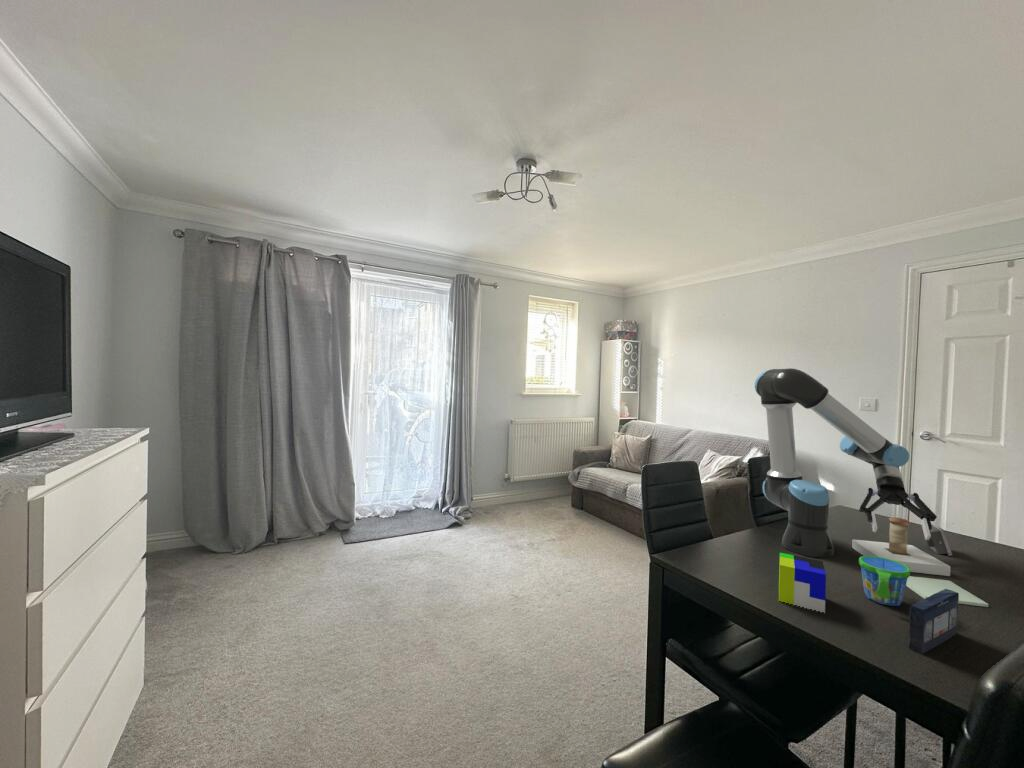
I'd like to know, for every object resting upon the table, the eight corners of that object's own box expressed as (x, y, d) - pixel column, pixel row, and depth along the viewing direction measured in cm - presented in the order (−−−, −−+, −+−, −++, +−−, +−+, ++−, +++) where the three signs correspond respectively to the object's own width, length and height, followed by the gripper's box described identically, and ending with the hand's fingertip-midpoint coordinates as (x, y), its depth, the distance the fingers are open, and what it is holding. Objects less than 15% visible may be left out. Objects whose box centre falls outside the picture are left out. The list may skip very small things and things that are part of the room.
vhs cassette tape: (922, 655, 93) (923, 610, 93) (905, 647, 95) (906, 603, 95) (960, 635, 101) (961, 593, 100) (943, 628, 103) (944, 588, 103)
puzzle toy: (824, 613, 109) (826, 574, 109) (778, 601, 114) (779, 564, 114) (821, 597, 117) (822, 561, 117) (778, 587, 123) (779, 552, 123)
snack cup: (906, 618, 107) (907, 578, 107) (853, 602, 115) (854, 564, 115) (911, 598, 118) (912, 561, 118) (862, 584, 125) (863, 550, 125)
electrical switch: (953, 557, 148) (950, 530, 148) (932, 555, 150) (930, 528, 150) (941, 548, 156) (939, 522, 156) (922, 546, 158) (920, 521, 159)
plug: (893, 562, 141) (894, 520, 141) (884, 557, 146) (885, 516, 146) (910, 564, 140) (912, 522, 140) (901, 558, 145) (902, 517, 145)
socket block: (881, 568, 137) (882, 559, 137) (852, 547, 154) (852, 539, 154) (950, 576, 132) (950, 566, 132) (911, 553, 150) (911, 545, 150)
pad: (925, 599, 117) (925, 596, 117) (893, 576, 131) (893, 574, 131) (988, 607, 114) (988, 604, 114) (949, 583, 127) (949, 580, 127)
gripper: (931, 491, 153) (947, 546, 140) (844, 481, 165) (852, 532, 152) (938, 479, 148) (955, 535, 135) (848, 470, 160) (856, 522, 147)
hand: (901, 534), depth 144 cm, fingers open, 13 cm apart
